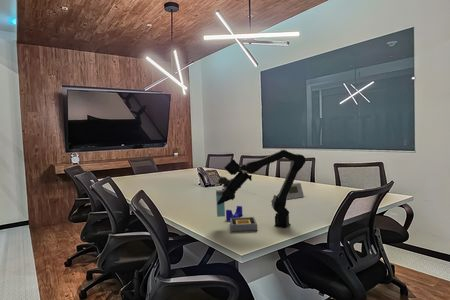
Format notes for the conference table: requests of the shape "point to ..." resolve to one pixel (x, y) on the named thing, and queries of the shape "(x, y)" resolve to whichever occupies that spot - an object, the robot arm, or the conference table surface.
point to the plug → (221, 206)
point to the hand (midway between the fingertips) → (217, 203)
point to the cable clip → (236, 215)
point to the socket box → (243, 224)
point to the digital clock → (295, 191)
